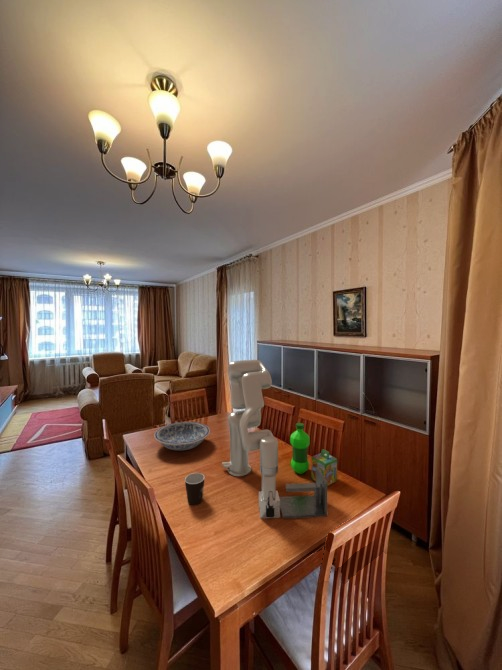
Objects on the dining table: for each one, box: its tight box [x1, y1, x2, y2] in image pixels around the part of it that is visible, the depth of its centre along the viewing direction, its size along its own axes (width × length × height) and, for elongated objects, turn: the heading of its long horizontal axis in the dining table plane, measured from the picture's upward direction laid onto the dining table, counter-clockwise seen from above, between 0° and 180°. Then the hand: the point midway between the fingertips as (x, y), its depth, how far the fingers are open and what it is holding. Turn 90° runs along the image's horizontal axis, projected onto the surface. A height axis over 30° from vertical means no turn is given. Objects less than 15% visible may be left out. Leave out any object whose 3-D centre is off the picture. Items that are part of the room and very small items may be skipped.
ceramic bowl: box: [153, 421, 211, 452], centre depth 172 cm, size 34×34×10 cm
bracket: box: [279, 467, 328, 520], centre depth 113 cm, size 18×12×14 cm, turn 93°
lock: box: [258, 490, 281, 519], centre depth 111 cm, size 8×6×7 cm
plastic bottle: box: [289, 422, 311, 475], centre depth 141 cm, size 10×10×25 cm
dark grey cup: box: [184, 472, 205, 506], centre depth 120 cm, size 12×9×10 cm
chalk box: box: [310, 448, 338, 487], centre depth 133 cm, size 9×9×15 cm
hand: (269, 510), depth 111 cm, fingers closed on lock, 6 cm apart
